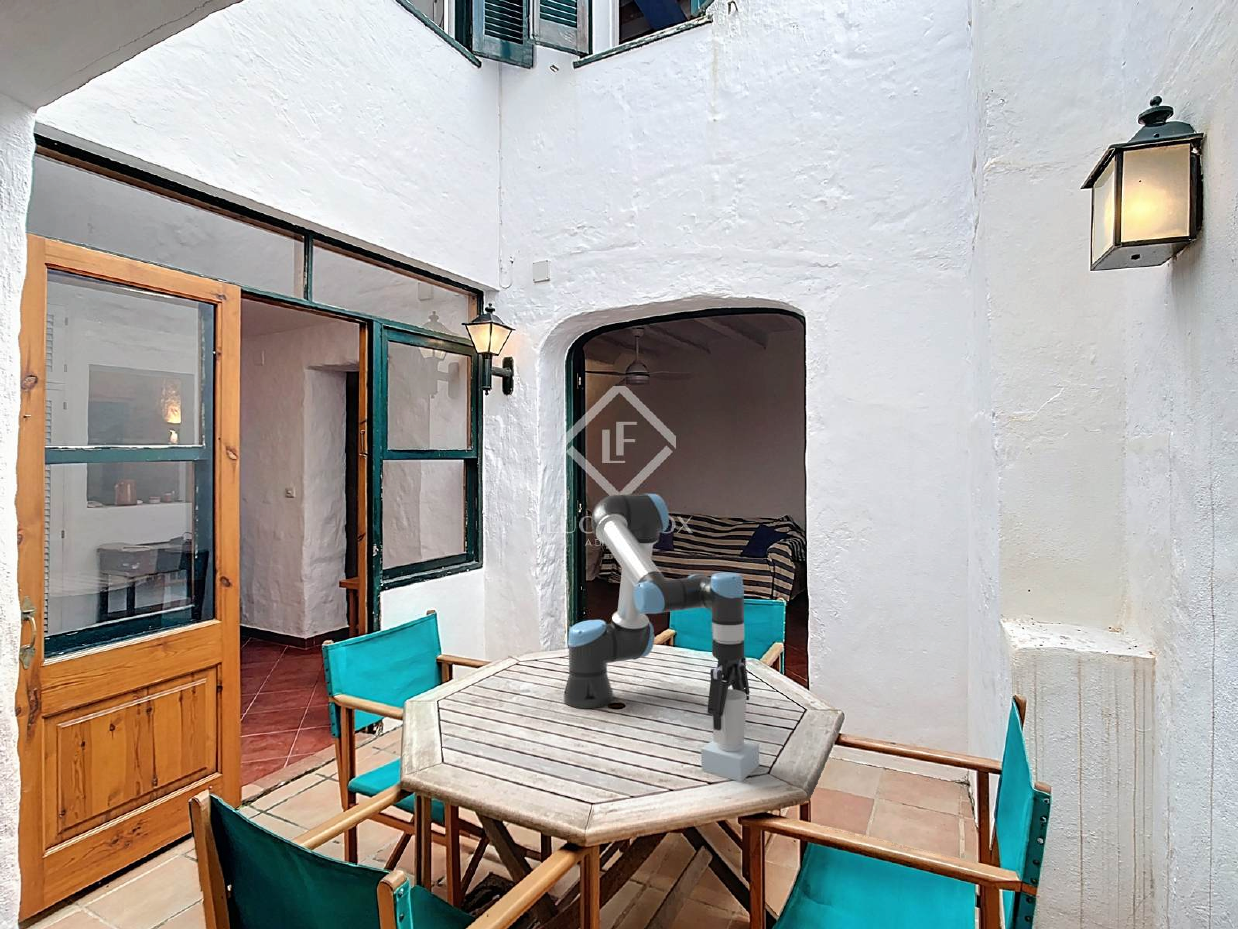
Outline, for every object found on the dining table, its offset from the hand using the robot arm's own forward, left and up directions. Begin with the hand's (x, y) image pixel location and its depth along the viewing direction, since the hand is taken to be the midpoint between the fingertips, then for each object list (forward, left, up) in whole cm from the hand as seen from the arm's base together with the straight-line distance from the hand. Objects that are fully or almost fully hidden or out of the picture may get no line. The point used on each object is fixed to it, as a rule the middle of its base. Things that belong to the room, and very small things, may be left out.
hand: (729, 734), depth 150 cm
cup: (0, 0, -3) cm, 3 cm away
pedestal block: (0, 0, -8) cm, 8 cm away
